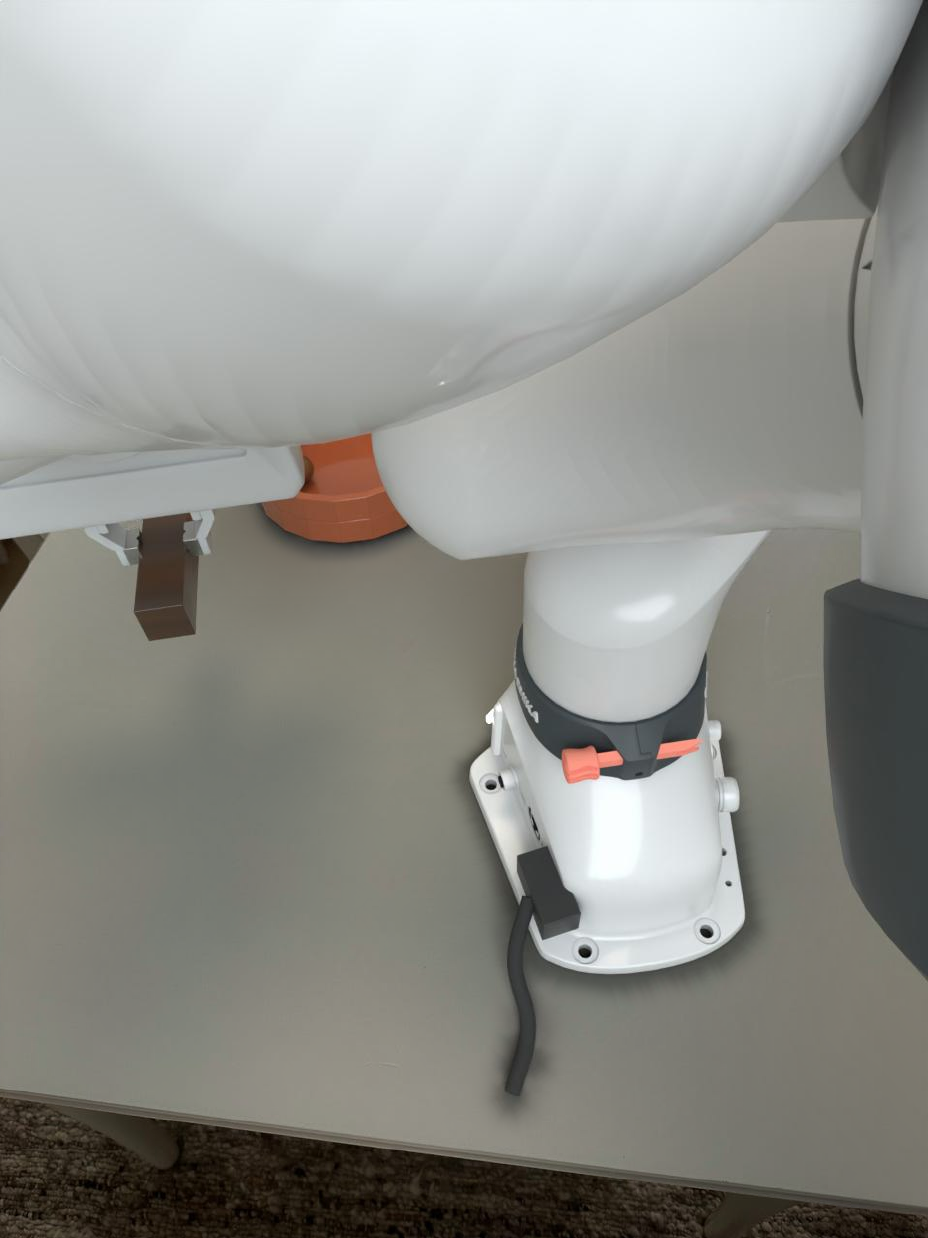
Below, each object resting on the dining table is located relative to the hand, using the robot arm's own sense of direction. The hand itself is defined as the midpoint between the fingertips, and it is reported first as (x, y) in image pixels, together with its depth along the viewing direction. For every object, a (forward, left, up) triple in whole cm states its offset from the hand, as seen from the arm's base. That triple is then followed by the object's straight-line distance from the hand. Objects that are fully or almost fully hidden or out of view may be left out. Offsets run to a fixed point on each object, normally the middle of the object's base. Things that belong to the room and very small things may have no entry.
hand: (169, 553), depth 58 cm
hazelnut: (+24, -7, -16) cm, 29 cm away
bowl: (+24, -12, -16) cm, 31 cm away
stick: (0, 0, -2) cm, 2 cm away
